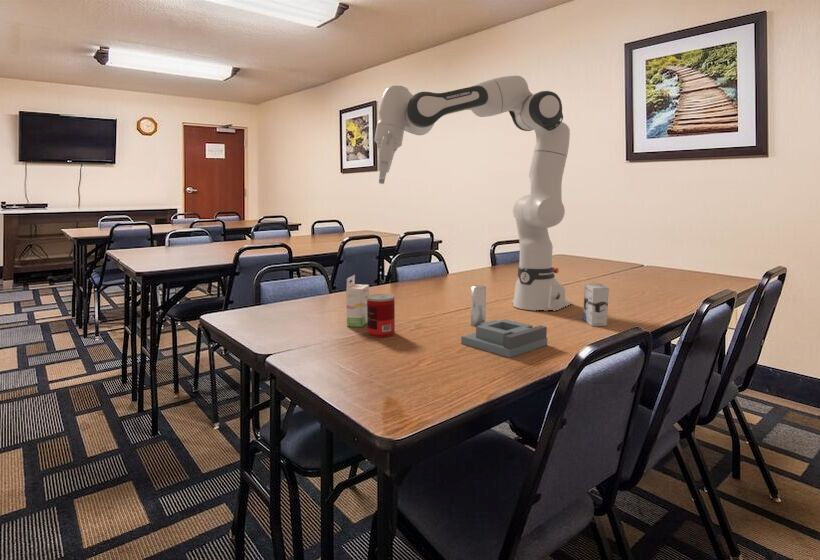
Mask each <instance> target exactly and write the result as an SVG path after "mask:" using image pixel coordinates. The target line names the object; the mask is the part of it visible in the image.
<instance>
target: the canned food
mask: <svg viewBox="0 0 820 560" xmlns="http://www.w3.org/2000/svg"><path fill="white" fill-rule="evenodd" d="M395 315H396V314H395V295H393V294H391V293H390V294H389V293H376V294H375V293H374V294H369V296H368V297H367V333H368V335H369V336H370V337H373V338H388V337H392V336H394V334H395V332H396V331H395V327H396V324H395V323H396V322H395V319H396V318H395Z"/></svg>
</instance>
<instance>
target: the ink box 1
mask: <svg viewBox="0 0 820 560" xmlns="http://www.w3.org/2000/svg"><path fill="white" fill-rule="evenodd" d="M350 281H351V282H350ZM355 282H356V275H355V274H353V275H352V276H349V277H348V278H346V289H345V291H346V293H345V294H346V327H349V326H350V328H362V327H364V326H365V325H366V324H368V322H367V297H368V296H369V295H370V284H358V283H357V284H356V283H355Z"/></svg>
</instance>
